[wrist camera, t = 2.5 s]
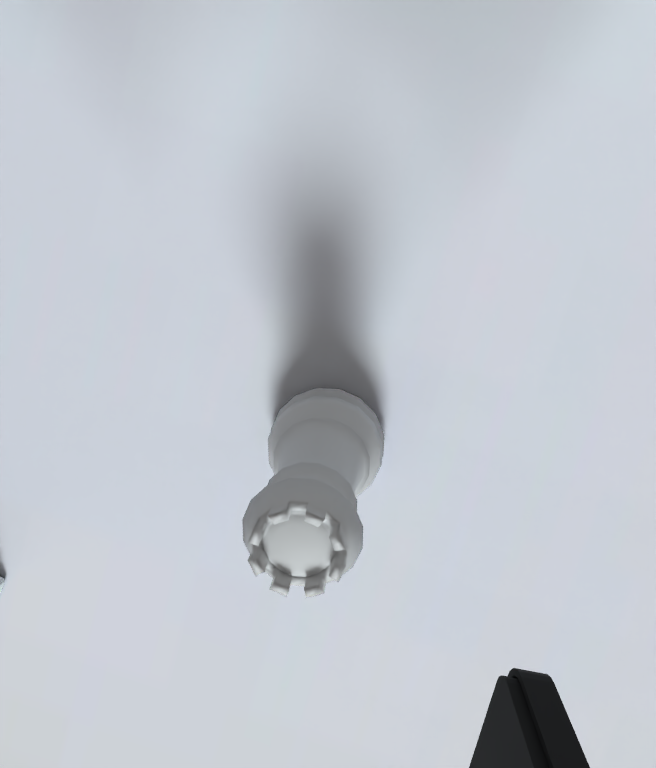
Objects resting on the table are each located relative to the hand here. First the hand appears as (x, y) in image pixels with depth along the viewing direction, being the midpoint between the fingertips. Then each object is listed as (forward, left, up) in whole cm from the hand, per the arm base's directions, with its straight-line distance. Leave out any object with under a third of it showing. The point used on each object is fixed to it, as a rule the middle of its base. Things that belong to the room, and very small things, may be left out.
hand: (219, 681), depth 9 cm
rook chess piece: (-1, 0, -12) cm, 12 cm away
